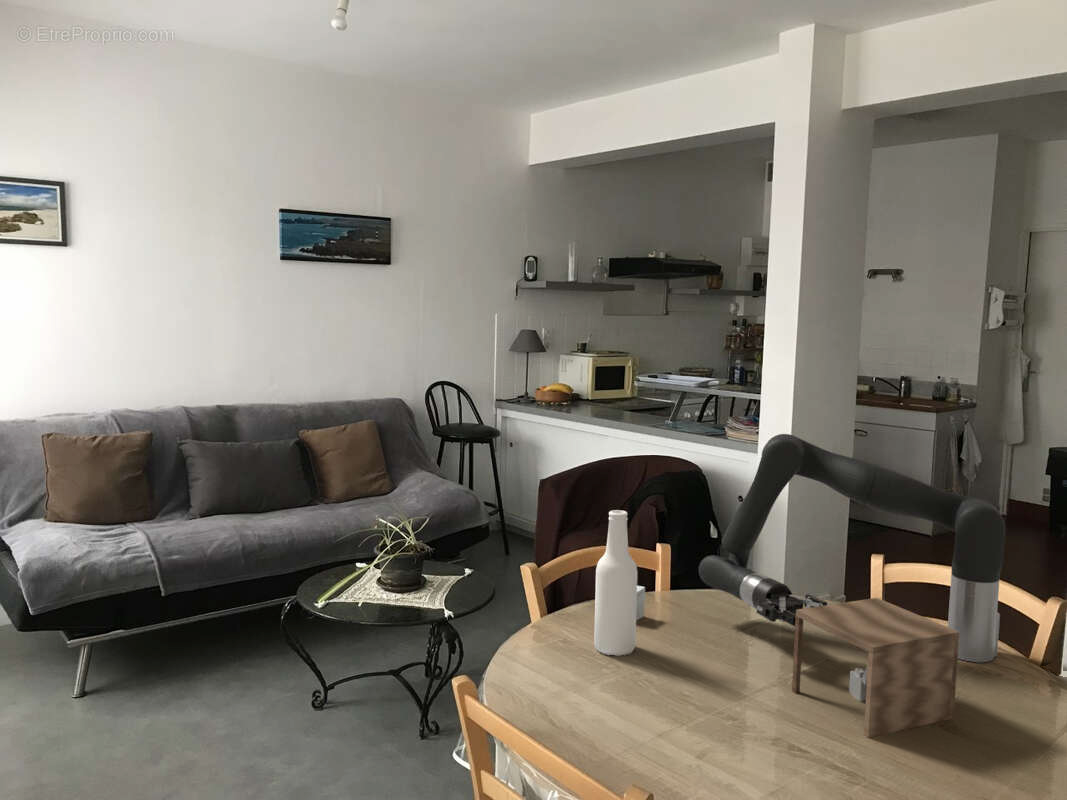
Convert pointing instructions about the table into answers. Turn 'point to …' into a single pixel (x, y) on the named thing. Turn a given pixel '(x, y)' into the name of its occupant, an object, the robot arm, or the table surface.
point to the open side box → (892, 661)
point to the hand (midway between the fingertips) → (815, 619)
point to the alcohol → (616, 592)
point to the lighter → (858, 684)
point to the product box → (640, 602)
